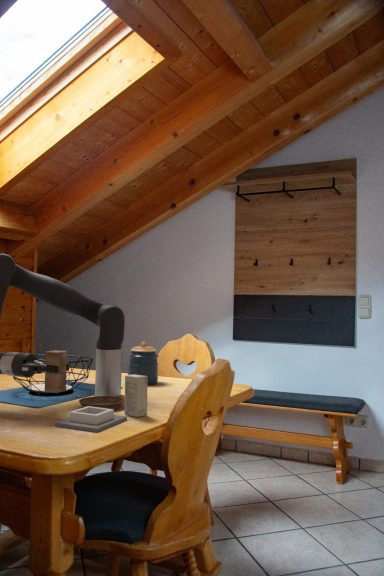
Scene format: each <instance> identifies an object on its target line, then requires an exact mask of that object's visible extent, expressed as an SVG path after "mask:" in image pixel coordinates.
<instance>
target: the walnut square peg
mask: <svg viewBox="0 0 384 576" xmlns="http://www.w3.org/2000/svg"><path fill="white" fill-rule="evenodd" d="M44 354H45V357H44V358H45V359H44V360H45V364H47V365H56V366H59V373H44V392H46V393H54V394H58V393H62V392H65V391H67V372H68V371H66V366H67V364H68V362H67V361H68V351H67V350H57V349H55V350H49V351H45V353H44Z"/></svg>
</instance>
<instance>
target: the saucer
mask: <svg viewBox="0 0 384 576" xmlns="http://www.w3.org/2000/svg"><path fill="white" fill-rule="evenodd" d="M78 402H79V404H80V405H81V407H82V408H84V407H87V406H91V407H98V408H106V409H114V410H117V409H118V408H120V407H121V405H122V404H124V403H125V398H123V397H120V396H117V397H111V396H89V397H83V398H81V399H79V400H78Z"/></svg>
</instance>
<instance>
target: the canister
mask: <svg viewBox="0 0 384 576" xmlns="http://www.w3.org/2000/svg"><path fill="white" fill-rule="evenodd" d="M157 351H158V350H157V349H156V348H155V347H154V346H148V343H147V342H146V341H142V342H140V345H139V346H138V345H137V346H133V347H132V348H131V349H130V353H129V354H128V355H127V356H128V358H129V361H128V362H127V365H128V367H127V369H128V371H127V375H134V374H135V375H142V376H147V386H153V385H156V384H158V381H159V377H158V375H159V374H158V372H159V362H158V358H159V354H157Z"/></svg>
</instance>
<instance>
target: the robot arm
mask: <svg viewBox="0 0 384 576" xmlns="http://www.w3.org/2000/svg"><path fill="white" fill-rule="evenodd" d="M9 287H12V288H15V289H17V290H20V291H22V292H23V293H26V294H27V295H29V296H31V297H33V298H35V299H37V300H39V301H41V302H43V303H44V304H47V306H48V305H49V306H51V307H53V308H55V309H58V310H61V311H63V312H66V313H69V314H72V315H76V316H79V317H81V318H83V319H85V320H87V321H88V322H90V323H92V324H94V325H95V326H97V327H98V328H99V335H98V336H99V337H98V340H97V341H96V348H95V350H96V353H95V376H94V377H95V378H94V379H95V381H94V382H95V384H94V397H96V396H111V397H120V396H121V394H122V372H123V371H122V346H123V342H124V339H125V321H126V320H125V314H124V311H123V310H122V309H121V308H120V307H119V306H116V305H113V304H112V305H110V304H104V303H101V302H99V301H96V300H93V299H91V298H89V297H87V296H86V295H84V294H83V293H82V292H81V291H79V290H77V289H76V288H74V287H73V286H71V285H69V284H67V283H65V282H62V281H61V280H58V279H56V278H53V277H50V276H48V275H44V274H40V273H37V272H33V271H30V270H28V269H26V268H24V267H22V266H20V265H19V264H16V262H15V259H14V258H13V257H12V256H10V255H9V254H6V253H0V319H1V317H2V312H3V307H4V302H5V299H6V297H7V296H6V295H7V293H8V289H9ZM66 371H67V372H68V371H70V363H67V366H66ZM45 373H59V366H56V365H47V364H45V359H43V358H39V359H38V358H37V356H36V355H35V354H34V353H30V352H16V351H12V352H8V351H0V375H6V376H11V377H16V378H17V377H18V378H26V379H27V378H31V377H33V376H34V375H36V374H39V375H41V374H45Z"/></svg>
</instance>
